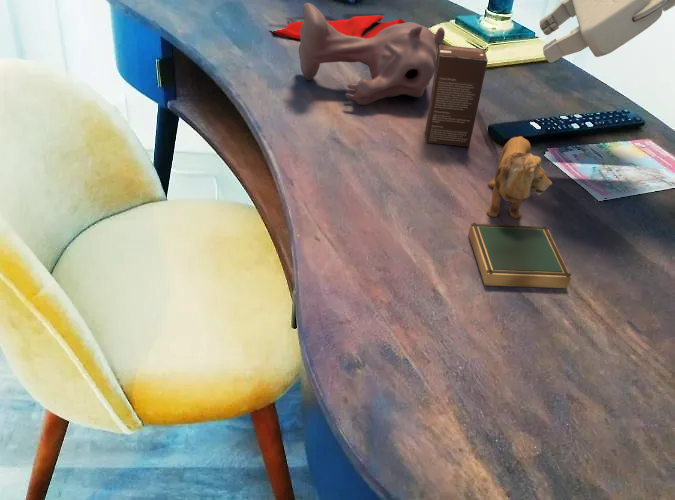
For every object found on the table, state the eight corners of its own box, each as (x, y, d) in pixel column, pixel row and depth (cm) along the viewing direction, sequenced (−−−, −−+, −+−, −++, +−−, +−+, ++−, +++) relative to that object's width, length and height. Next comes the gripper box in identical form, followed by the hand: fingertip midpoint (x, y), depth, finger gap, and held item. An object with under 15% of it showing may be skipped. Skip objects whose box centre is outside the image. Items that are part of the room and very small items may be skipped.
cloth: (273, 47, 108) (273, 34, 107) (266, 19, 119) (266, 6, 117) (422, 48, 113) (424, 35, 112) (402, 21, 124) (404, 9, 122)
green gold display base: (543, 237, 71) (547, 225, 70) (567, 288, 64) (571, 276, 63) (468, 234, 70) (471, 222, 69) (484, 285, 64) (487, 273, 63)
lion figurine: (537, 240, 70) (560, 168, 65) (488, 234, 71) (507, 162, 65) (520, 170, 82) (539, 105, 76) (478, 166, 82) (494, 100, 77)
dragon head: (314, 79, 84) (461, 65, 87) (299, -8, 87) (441, -18, 90) (307, 128, 97) (434, 115, 100) (294, 50, 100) (417, 40, 103)
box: (467, 132, 89) (486, 47, 82) (469, 148, 86) (489, 61, 78) (423, 128, 89) (438, 42, 82) (424, 143, 86) (439, 55, 78)
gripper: (694, 21, 63) (563, 97, 70) (656, -32, 79) (552, 35, 86) (665, -34, 61) (532, 51, 68) (631, -76, 77) (527, -4, 84)
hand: (543, 41), depth 77 cm, fingers open, 8 cm apart
